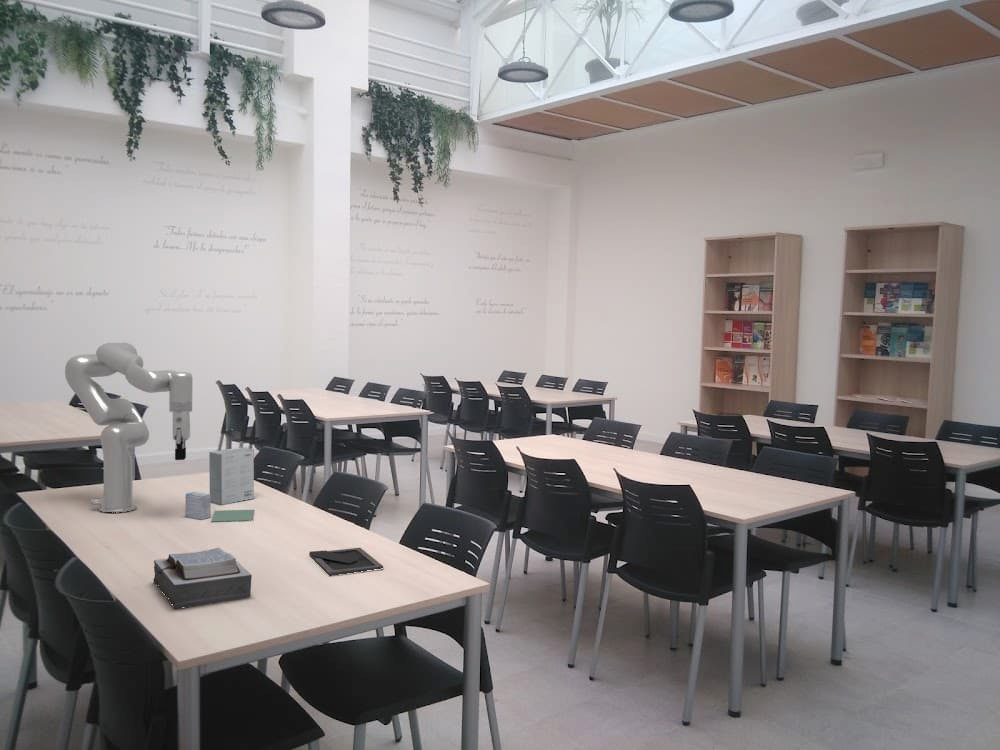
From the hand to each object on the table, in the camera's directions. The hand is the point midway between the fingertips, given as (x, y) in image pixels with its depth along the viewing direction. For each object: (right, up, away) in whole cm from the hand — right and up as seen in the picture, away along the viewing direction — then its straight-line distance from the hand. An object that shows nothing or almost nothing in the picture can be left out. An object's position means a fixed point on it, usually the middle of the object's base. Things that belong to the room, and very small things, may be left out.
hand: (180, 458), depth 283 cm
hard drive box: (+8, -20, +31) cm, 37 cm away
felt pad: (+17, -21, +6) cm, 28 cm away
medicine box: (+5, -21, +3) cm, 22 cm away
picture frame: (+67, -27, -45) cm, 85 cm away
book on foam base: (+34, -27, -72) cm, 85 cm away
